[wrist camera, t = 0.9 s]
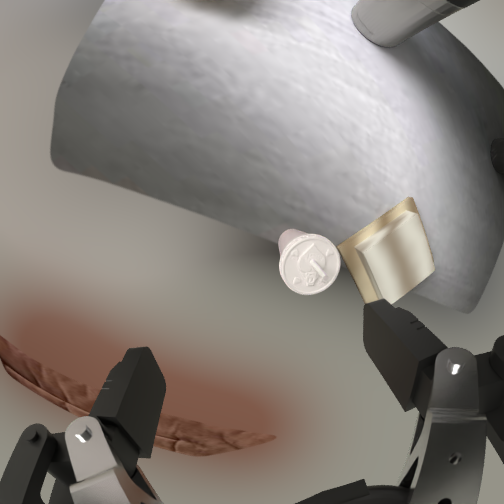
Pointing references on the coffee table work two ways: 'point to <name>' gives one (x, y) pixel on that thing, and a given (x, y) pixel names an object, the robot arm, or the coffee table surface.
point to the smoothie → (307, 261)
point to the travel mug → (498, 155)
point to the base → (389, 254)
